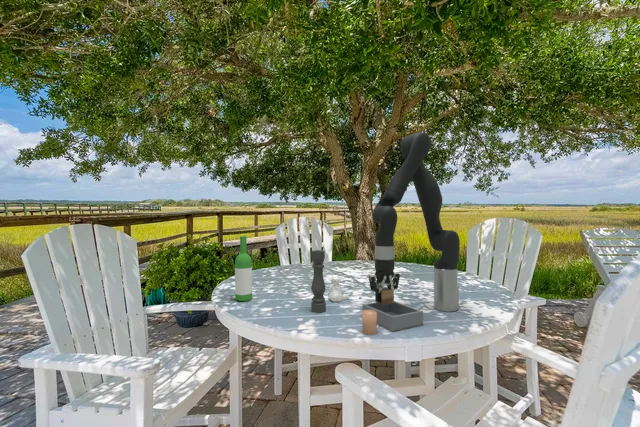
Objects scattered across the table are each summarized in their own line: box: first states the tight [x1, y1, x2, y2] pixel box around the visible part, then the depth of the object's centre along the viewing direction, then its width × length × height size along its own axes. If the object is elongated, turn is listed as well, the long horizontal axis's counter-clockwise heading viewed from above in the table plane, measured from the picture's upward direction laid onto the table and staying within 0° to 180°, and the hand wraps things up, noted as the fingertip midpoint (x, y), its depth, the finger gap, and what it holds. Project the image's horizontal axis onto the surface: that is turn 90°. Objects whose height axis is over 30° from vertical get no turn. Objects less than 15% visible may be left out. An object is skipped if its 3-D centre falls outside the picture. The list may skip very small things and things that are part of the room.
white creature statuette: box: [328, 274, 349, 303], centre depth 155 cm, size 10×9×12 cm
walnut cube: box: [374, 287, 395, 305], centre depth 129 cm, size 5×5×5 cm
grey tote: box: [361, 300, 424, 333], centre depth 125 cm, size 14×18×5 cm
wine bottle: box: [234, 235, 253, 302], centre depth 156 cm, size 8×8×30 cm
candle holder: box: [310, 249, 327, 314], centre depth 139 cm, size 6×6×25 cm
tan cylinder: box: [361, 310, 378, 336], centre depth 114 cm, size 5×5×7 cm
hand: (384, 301), depth 129 cm, fingers closed on walnut cube, 5 cm apart
